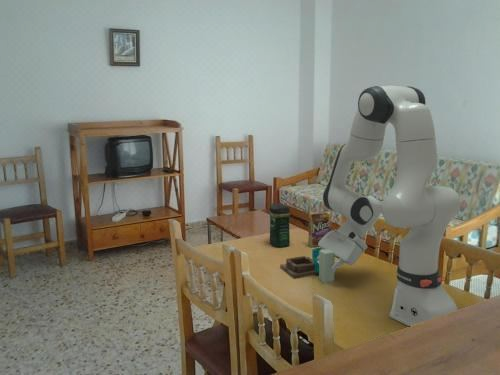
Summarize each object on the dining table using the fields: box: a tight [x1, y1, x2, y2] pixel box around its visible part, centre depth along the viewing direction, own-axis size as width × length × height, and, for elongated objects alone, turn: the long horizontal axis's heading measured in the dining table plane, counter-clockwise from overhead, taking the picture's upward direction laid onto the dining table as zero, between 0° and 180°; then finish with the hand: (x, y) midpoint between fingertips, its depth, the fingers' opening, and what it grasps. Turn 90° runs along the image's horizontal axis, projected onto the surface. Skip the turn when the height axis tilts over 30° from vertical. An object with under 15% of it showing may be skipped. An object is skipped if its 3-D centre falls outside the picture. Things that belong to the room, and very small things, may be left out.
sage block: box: [318, 249, 336, 284], centre depth 172 cm, size 4×4×11 cm
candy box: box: [307, 210, 332, 248], centre depth 210 cm, size 9×4×15 cm, turn 98°
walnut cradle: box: [279, 255, 318, 280], centre depth 182 cm, size 12×12×4 cm
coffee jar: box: [269, 202, 291, 248], centre depth 212 cm, size 10×8×19 cm
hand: (325, 264), depth 172 cm, fingers open, 8 cm apart
